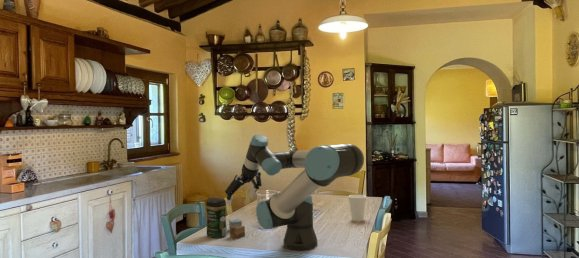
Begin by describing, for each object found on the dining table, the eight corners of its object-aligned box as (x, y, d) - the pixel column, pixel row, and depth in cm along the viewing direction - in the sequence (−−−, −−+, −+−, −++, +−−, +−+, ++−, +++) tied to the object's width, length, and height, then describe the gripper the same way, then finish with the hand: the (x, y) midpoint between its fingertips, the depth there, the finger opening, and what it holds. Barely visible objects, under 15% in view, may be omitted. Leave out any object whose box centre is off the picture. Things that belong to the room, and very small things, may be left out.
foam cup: (369, 219, 219) (369, 195, 218) (360, 222, 212) (359, 198, 212) (355, 216, 225) (354, 194, 225) (345, 220, 218) (345, 196, 218)
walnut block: (244, 236, 192) (244, 226, 192) (237, 239, 188) (237, 228, 188) (237, 234, 195) (237, 224, 195) (230, 237, 192) (229, 227, 191)
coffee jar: (203, 236, 194) (202, 198, 193) (215, 232, 200) (214, 195, 200) (218, 239, 188) (217, 200, 188) (229, 235, 195) (228, 197, 194)
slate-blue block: (241, 230, 203) (241, 221, 203) (232, 232, 200) (232, 222, 200) (238, 228, 207) (238, 219, 207) (229, 229, 205) (229, 220, 205)
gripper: (266, 156, 193) (254, 190, 202) (224, 165, 175) (213, 202, 185) (276, 165, 189) (263, 199, 198) (234, 175, 171) (222, 212, 181)
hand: (239, 200), depth 192 cm, fingers open, 13 cm apart
